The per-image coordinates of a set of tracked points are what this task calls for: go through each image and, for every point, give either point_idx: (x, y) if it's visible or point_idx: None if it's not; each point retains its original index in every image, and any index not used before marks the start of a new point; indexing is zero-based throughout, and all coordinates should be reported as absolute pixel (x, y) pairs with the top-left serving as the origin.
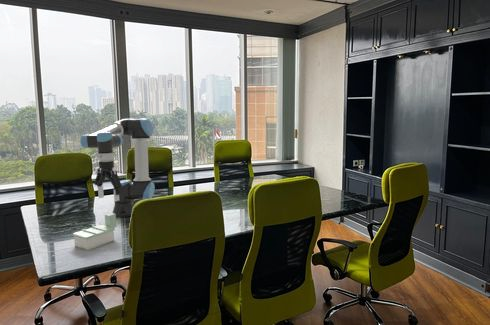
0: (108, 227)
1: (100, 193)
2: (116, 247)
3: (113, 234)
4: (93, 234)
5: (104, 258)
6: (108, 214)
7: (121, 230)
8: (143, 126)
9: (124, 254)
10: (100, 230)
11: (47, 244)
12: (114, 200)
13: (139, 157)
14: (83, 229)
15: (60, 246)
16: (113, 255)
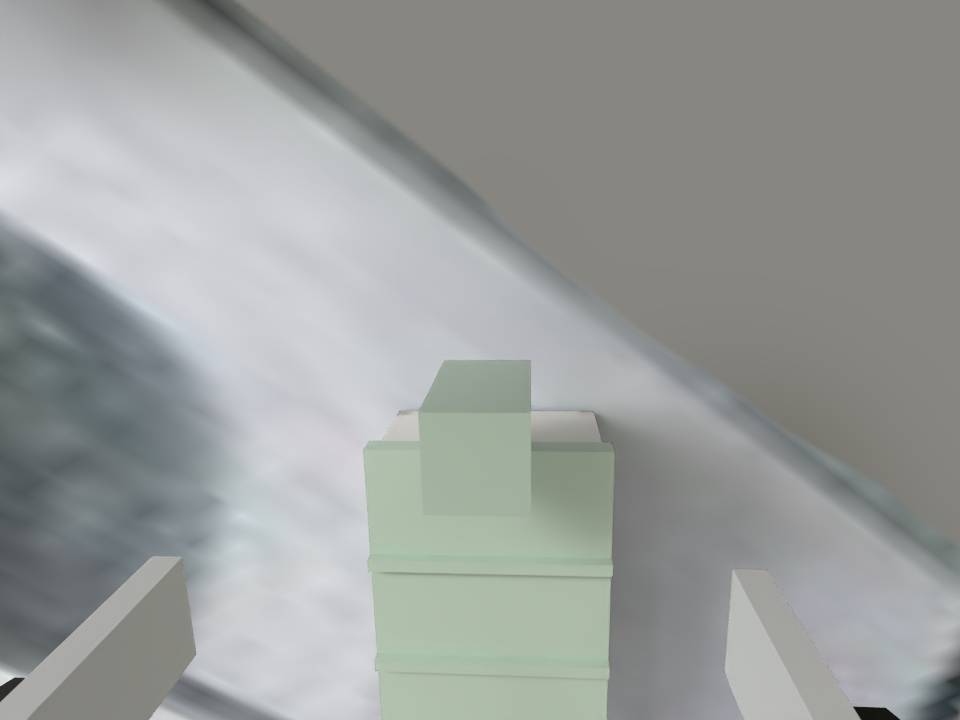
0: (531, 472)
1: (129, 702)
2: (739, 493)
3: (599, 438)
4: (594, 681)
5: (843, 678)
6: (462, 483)
7: (368, 156)
8: None
9: (936, 558)
10: (545, 577)
11: (177, 713)
12: (737, 684)
13: None
14: (388, 665)
15: (303, 692)
16: (863, 612)
